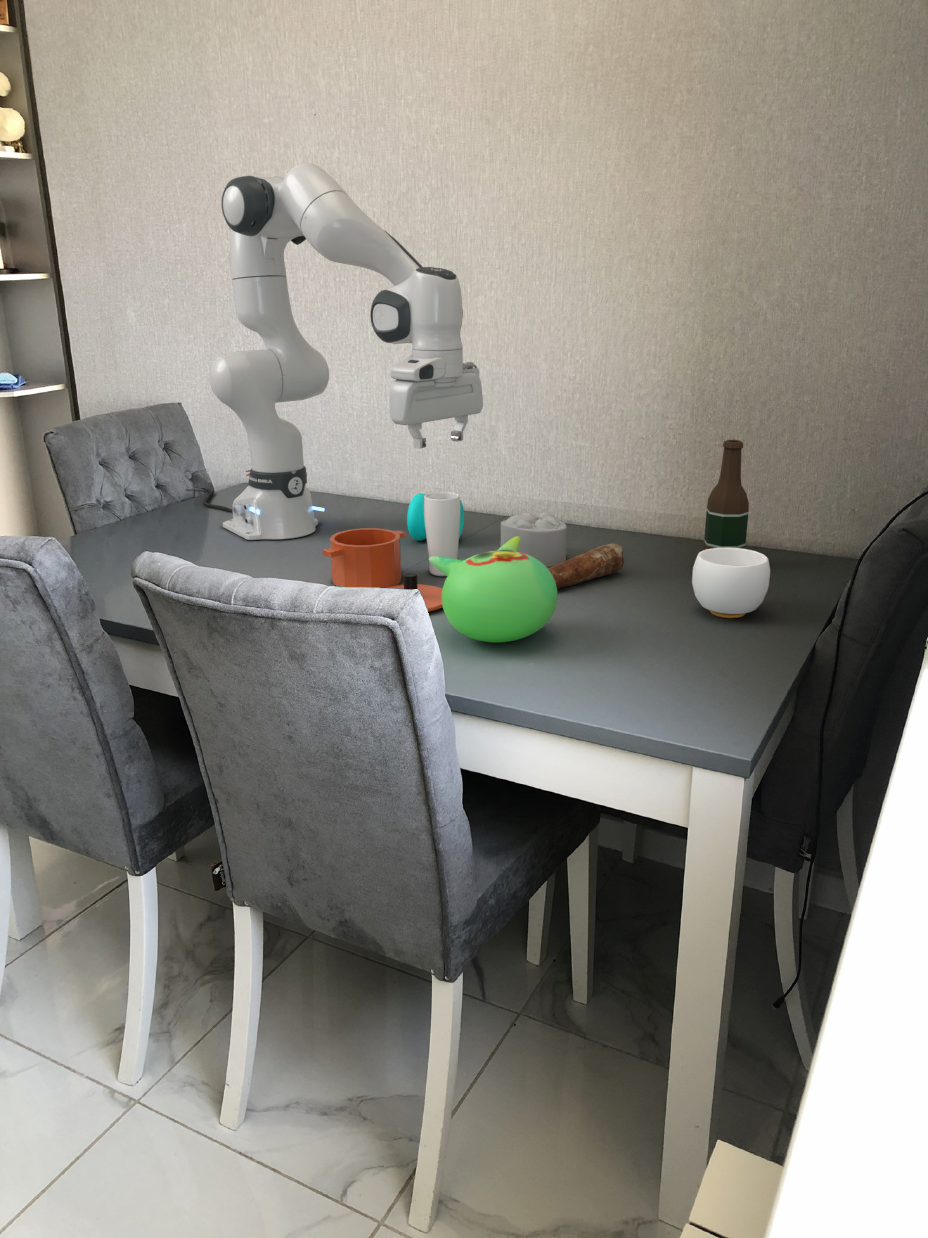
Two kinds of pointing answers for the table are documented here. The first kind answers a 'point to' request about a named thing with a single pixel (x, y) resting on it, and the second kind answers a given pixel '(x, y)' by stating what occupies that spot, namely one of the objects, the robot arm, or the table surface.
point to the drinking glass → (442, 526)
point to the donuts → (417, 518)
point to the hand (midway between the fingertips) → (438, 444)
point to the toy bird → (497, 593)
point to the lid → (423, 591)
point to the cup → (730, 580)
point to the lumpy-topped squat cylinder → (537, 536)
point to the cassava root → (588, 565)
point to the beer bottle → (727, 503)
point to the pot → (366, 557)
